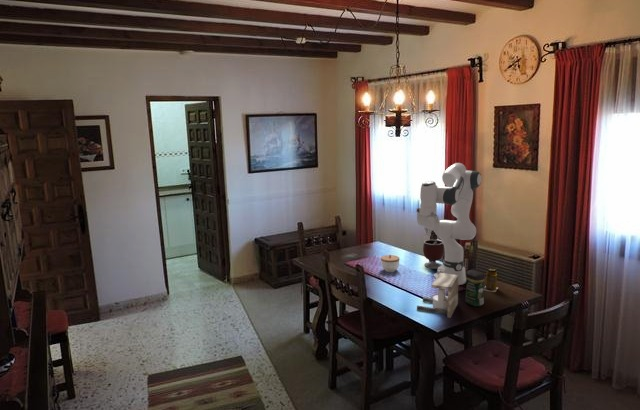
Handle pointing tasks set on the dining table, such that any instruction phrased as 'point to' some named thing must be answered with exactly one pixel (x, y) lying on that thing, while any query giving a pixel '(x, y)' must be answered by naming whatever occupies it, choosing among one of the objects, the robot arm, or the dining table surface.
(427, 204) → the robot arm
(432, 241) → the mate gourd
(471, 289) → the coffee jar
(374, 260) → the dining table surface
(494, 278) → the condiment
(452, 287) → the shelf
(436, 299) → the base with upright slab
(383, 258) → the lidded bowl
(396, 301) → the dining table surface
